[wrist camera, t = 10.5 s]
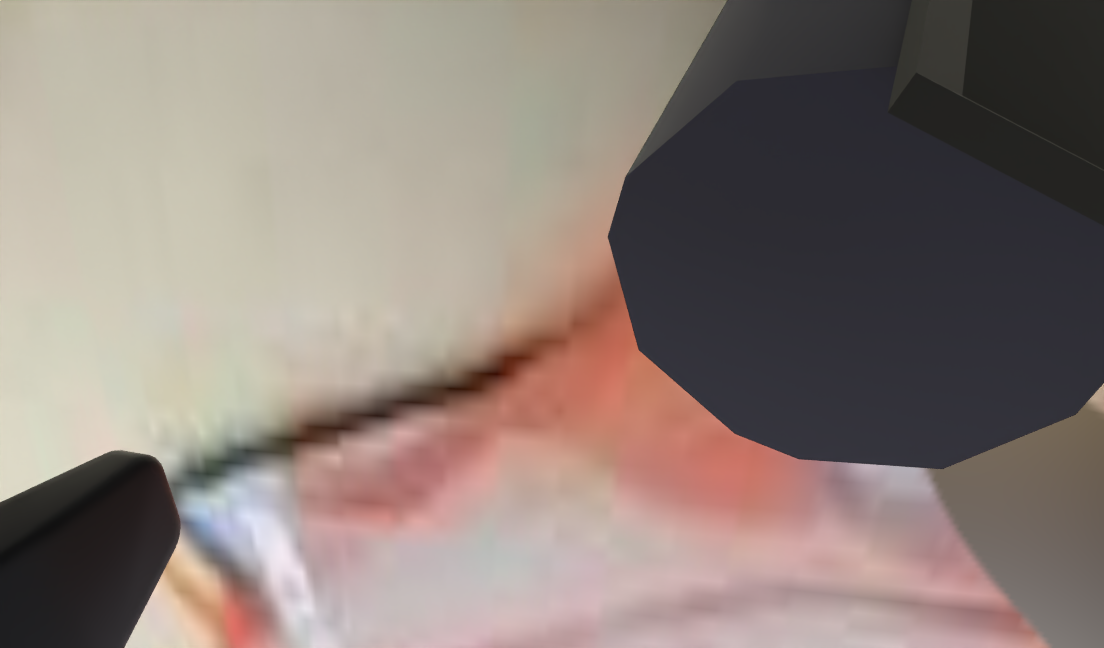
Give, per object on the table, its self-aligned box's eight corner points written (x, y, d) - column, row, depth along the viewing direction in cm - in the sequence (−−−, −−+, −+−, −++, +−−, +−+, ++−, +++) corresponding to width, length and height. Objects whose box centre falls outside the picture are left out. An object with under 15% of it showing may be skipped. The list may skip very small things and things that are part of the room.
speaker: (1062, -374, 14) (1160, -228, 6) (1287, -61, 15) (1598, 378, 7) (675, -9, 19) (462, 324, 11) (871, 202, 20) (803, 630, 12)
